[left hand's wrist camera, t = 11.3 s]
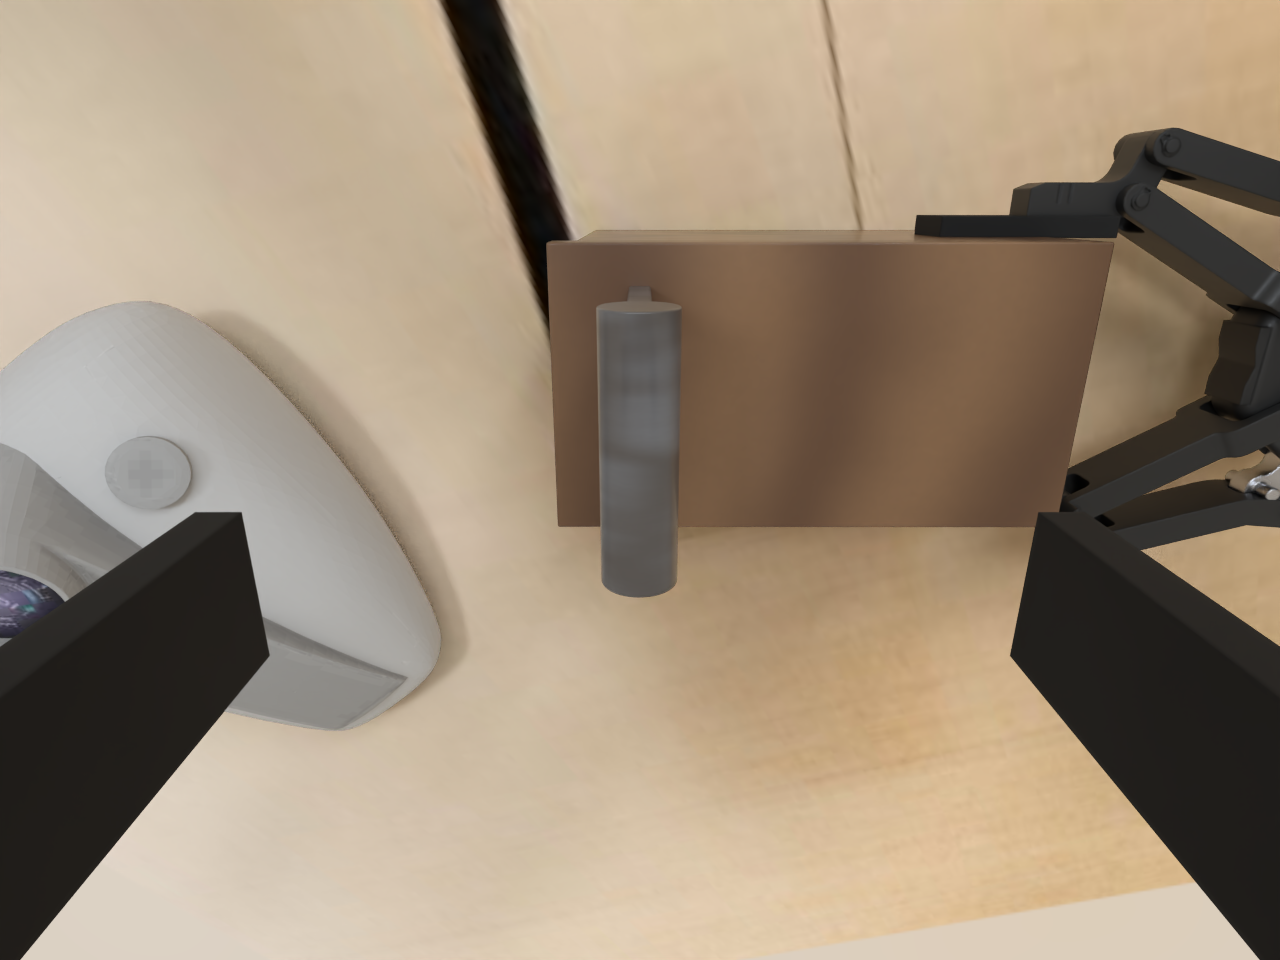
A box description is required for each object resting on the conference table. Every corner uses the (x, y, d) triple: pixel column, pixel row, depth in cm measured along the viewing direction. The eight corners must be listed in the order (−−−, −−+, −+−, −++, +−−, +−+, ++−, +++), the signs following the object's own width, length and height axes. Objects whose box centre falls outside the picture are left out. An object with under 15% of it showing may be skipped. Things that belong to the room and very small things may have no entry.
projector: (66, 684, 44) (-198, 905, 30) (-30, 277, 36) (-449, 322, 22) (450, 703, 44) (363, 930, 30) (438, 306, 36) (315, 368, 22)
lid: (561, 514, 28) (529, 637, 20) (550, 240, 25) (507, 257, 17) (1039, 514, 28) (1198, 638, 20) (1093, 240, 25) (1310, 257, 17)
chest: (598, 431, 39) (583, 513, 28) (594, 230, 35) (575, 240, 25) (932, 431, 39) (1039, 514, 28) (960, 230, 35) (1093, 240, 25)
